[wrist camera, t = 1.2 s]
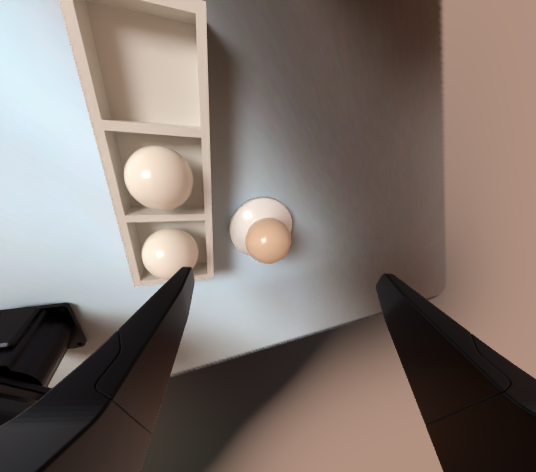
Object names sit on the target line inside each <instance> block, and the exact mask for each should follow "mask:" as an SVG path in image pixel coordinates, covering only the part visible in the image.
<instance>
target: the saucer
mask: <svg viewBox="0 0 536 472" xmlns="http://www.w3.org/2000/svg"><path fill="white" fill-rule="evenodd" d="M262 218H274V219H277V220H279V221H281V222H282V223H284V224H285V225H286V227H287V228H288V230H289V232H290V234H291V230H292V218H291V215H290V213H289V211H288V210H287V208H286V207H285V206H284V205H283V204H282V203H281V202H279V201H278V200H276V199H273V198H269V197H257V198H253V199H250V200H248V201H246V202H244V203H243V204H242V205H240V206H239V207H238V208H237V209H236V211H235V212H234V214H233V215H232V218H231V220H230V225H229V232H230V236H231V240H232V242H233V244H234V246H235V247H236V248H237V249H238V250H239V251H241V252H242V253H244V254H246V255H249V256H251V255H250V254H249V252H248V250H247V248H246V244H245V238H246V233H247V231H248V229H249V227H250V226H251V225H252V224H253V223H254V222H256V221H257V220H259V219H262Z"/></svg>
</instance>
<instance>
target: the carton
mask: <svg viewBox="0 0 536 472" xmlns="http://www.w3.org/2000/svg"><path fill="white" fill-rule="evenodd" d="M59 3H60V7H61V11H62V14H63V18H64V22H65V26H66V30H67V33H68V37H69V41H70V45H71V48H72V52H73V56H74V60H75V64H76V67H77V71H78V75H79V79H80V83H81V86H82V90H83V94H84V98H85V101H86V105H87V109H88V113H89V117H90V120H91V124H92V128H93V132H94V135H95V139H96V143H97V147H98V151H99V154H100V158H101V162H102V166H103V170H104V173H105V177H106V181H107V185H108V188H109V192H110V196H111V200H112V204H113V207H114V211H115V215H116V219H117V222H118V226H119V230H120V234H121V238H122V241H123V245H124V249H125V253H126V257H127V260H128V264H129V268H130V272H131V275H132V279H133V283H134V287H135V286H145V285H154V284H164V283H166V282H167V281H168V280H166V279H161V278H158V277H156V276H154V275H152V274H151V273H150V272H149V271H148V270H147V269H146V268H145V266H144V264H143V261H142V248H143V245H144V243H145V241H146V240H147V238H148V237H149V236H150V235H151V234H153V233H154V232H156V231H158V230H160V229H163V228H179V229H182V230H184V231H186V232H188V233H189V234H190V235H191V236H192V237H193V238H194V239H195V241H196V243H197V245H198V250H199V255H198V260H197V263H196V265H195V266H194V268H193V274H194V280H202V279H211V278H214V266H213V231H212V196H211V162H210V127H209V93H208V58H207V23H206V2H205V1H202V0H59ZM147 146H163V147H167V148H169V149H172V150H174V151H176V152H177V153H179V154H180V155H181V156H182V157H183V158H184V159H185V160H186V161H187V163H188V164H189V166H190V168H191V170H192V173H193V177H194V186H193V190H192V193H191V195H190V197H189V198H188V199H187V201H186V202H185V203H183V204H182V205H181V206H179V207H177V208H174V209H171V210H155V209H151V208H148V207H146V206H144V205H142V204H141V203H139V202H138V201H137V200H135V199H134V198H133V196H132V195H131V194H130V192H129V191H128V189H127V187H126V184H125V181H124V168H125V164H126V162H127V160H128V159H129V157H130V156H131V155H132V154H133V153H134V152H135V151H137V150H138V149H141V148H143V147H147Z"/></svg>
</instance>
